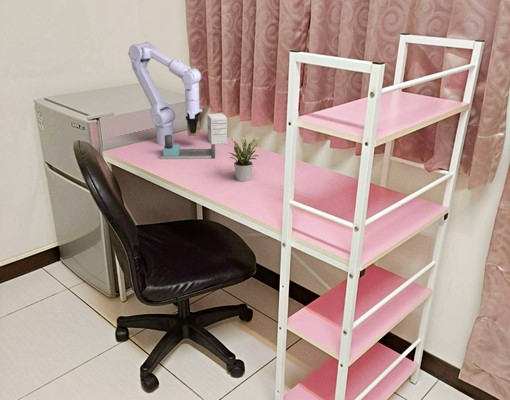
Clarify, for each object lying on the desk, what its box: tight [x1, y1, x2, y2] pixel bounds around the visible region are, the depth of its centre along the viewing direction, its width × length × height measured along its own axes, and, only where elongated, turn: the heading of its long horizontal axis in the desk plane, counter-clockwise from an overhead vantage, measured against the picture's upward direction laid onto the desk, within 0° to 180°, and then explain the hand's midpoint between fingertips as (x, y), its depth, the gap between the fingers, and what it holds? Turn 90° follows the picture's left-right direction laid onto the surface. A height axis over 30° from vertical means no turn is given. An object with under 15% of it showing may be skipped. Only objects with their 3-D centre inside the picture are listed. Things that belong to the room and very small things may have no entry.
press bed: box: [159, 143, 216, 160], centre depth 206 cm, size 10×22×4 cm, turn 94°
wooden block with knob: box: [186, 118, 201, 137], centre depth 212 cm, size 5×5×6 cm
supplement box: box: [206, 112, 228, 146], centre depth 223 cm, size 7×7×13 cm
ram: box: [162, 135, 181, 156], centre depth 205 cm, size 8×6×8 cm
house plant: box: [227, 135, 264, 182], centre depth 183 cm, size 14×14×16 cm
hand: (193, 130), depth 213 cm, fingers closed on wooden block with knob, 5 cm apart
